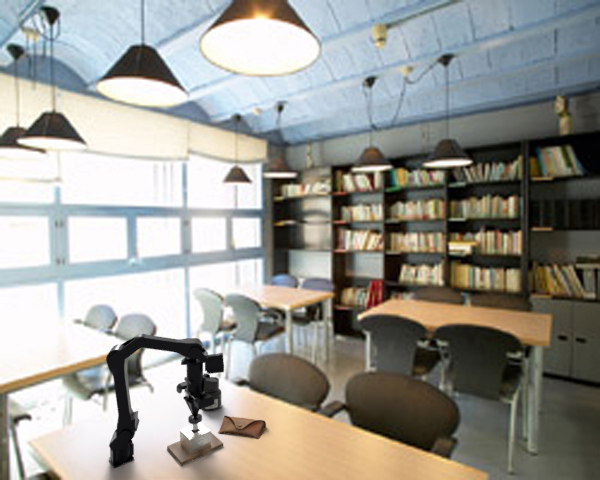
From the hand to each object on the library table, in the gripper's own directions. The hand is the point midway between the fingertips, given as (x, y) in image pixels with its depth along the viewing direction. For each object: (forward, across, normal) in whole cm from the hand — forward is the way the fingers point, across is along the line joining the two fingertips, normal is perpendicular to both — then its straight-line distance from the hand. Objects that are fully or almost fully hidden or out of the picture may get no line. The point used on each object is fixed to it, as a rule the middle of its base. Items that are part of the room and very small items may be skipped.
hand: (195, 416), depth 131 cm
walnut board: (+12, 0, 0) cm, 12 cm away
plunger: (+6, 0, 0) cm, 6 cm away
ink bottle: (+12, +23, -19) cm, 32 cm away
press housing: (+10, 0, 0) cm, 10 cm away
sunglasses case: (+12, -2, -19) cm, 23 cm away
